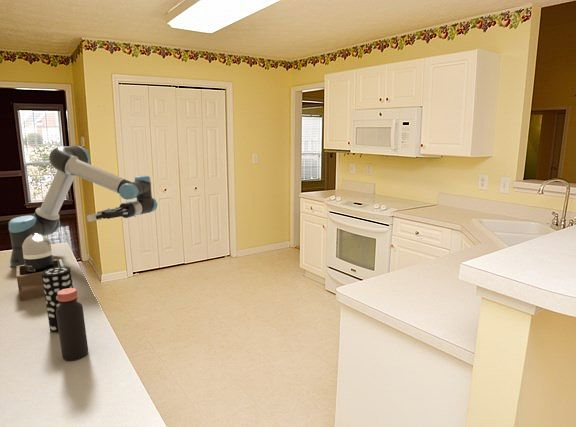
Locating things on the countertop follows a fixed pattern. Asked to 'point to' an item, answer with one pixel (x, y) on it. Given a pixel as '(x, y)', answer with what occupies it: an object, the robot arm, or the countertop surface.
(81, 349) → the vinegar
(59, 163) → the robot arm
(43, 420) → the countertop surface
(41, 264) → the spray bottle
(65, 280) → the spotted tube
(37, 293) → the bay
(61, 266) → the bay door
